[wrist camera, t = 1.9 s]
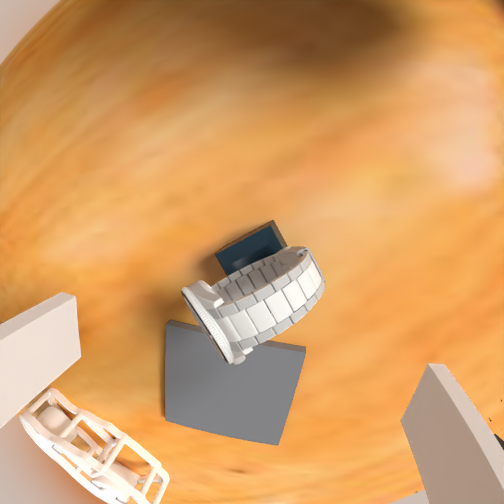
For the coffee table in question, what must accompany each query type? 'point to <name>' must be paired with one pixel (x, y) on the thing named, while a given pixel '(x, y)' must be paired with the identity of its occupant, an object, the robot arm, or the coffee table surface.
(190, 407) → the mat
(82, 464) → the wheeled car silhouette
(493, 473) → the robot arm
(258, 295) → the watch
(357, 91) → the coffee table surface
